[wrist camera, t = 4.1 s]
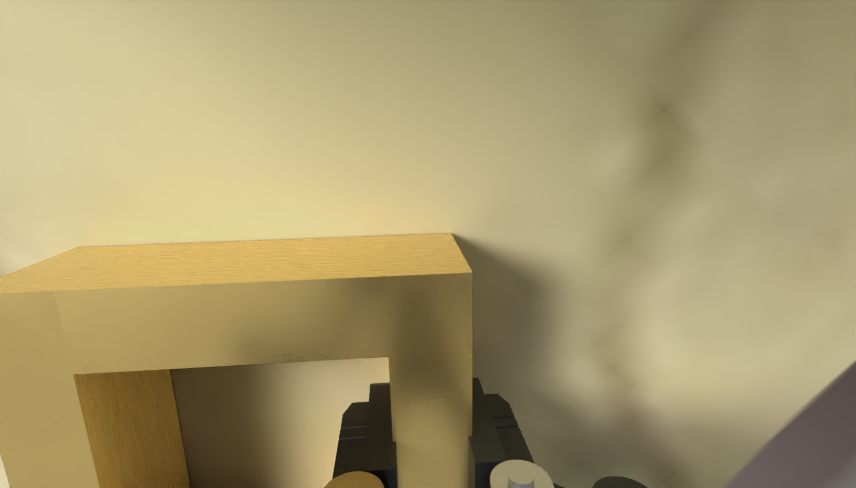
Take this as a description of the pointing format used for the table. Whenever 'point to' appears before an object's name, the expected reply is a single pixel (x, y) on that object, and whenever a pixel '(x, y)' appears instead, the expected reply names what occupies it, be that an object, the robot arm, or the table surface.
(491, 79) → the table surface
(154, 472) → the square wooden frame
